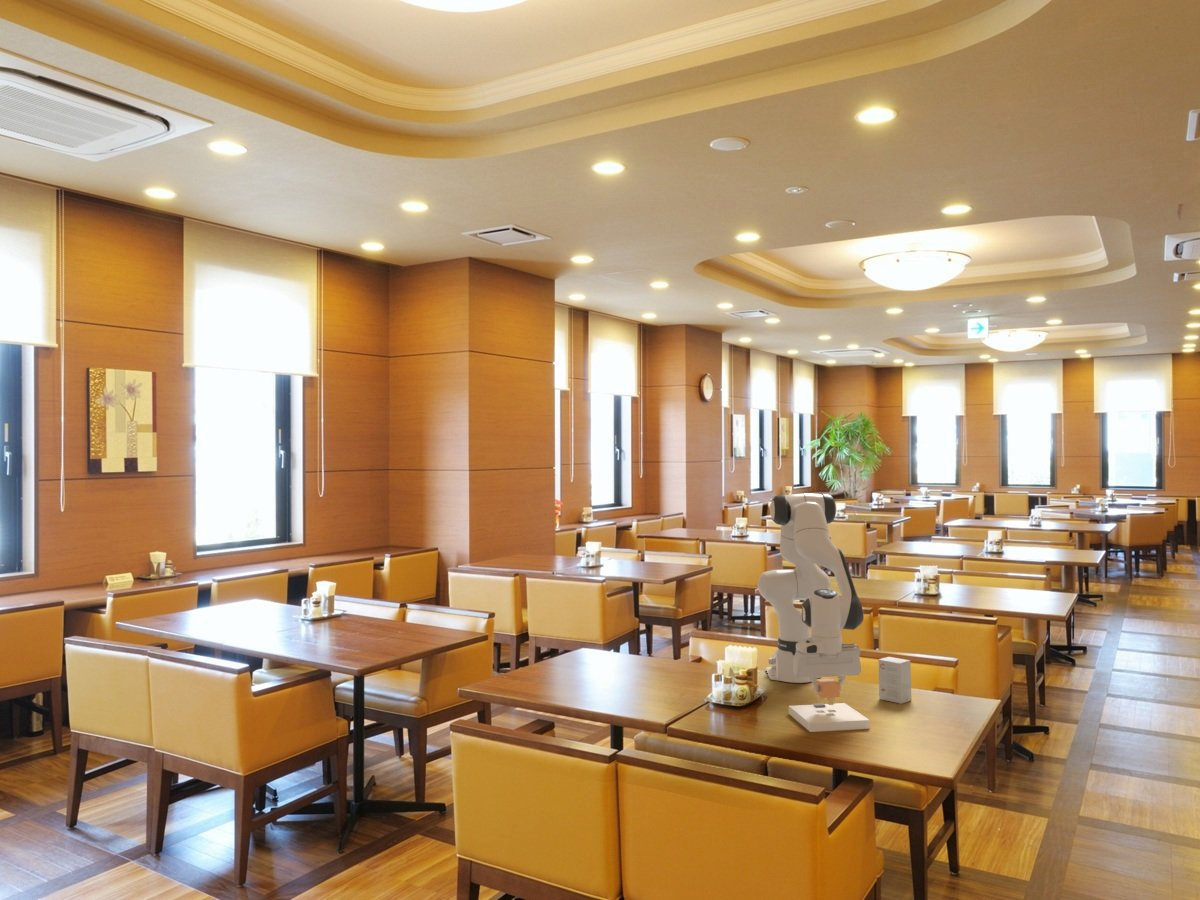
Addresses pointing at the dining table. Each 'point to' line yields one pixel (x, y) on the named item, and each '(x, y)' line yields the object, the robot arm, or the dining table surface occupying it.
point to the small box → (894, 680)
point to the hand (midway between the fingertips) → (827, 691)
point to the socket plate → (828, 717)
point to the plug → (828, 690)
